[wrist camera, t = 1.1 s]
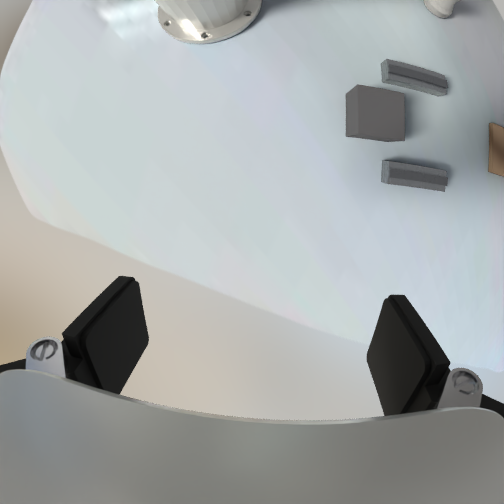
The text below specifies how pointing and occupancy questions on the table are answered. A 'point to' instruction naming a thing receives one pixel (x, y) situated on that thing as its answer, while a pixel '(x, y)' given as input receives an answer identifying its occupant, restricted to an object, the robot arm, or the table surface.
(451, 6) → the rook chess piece
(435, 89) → the metal bars
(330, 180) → the table surface
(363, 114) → the dark gray cube
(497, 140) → the pad
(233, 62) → the table surface
